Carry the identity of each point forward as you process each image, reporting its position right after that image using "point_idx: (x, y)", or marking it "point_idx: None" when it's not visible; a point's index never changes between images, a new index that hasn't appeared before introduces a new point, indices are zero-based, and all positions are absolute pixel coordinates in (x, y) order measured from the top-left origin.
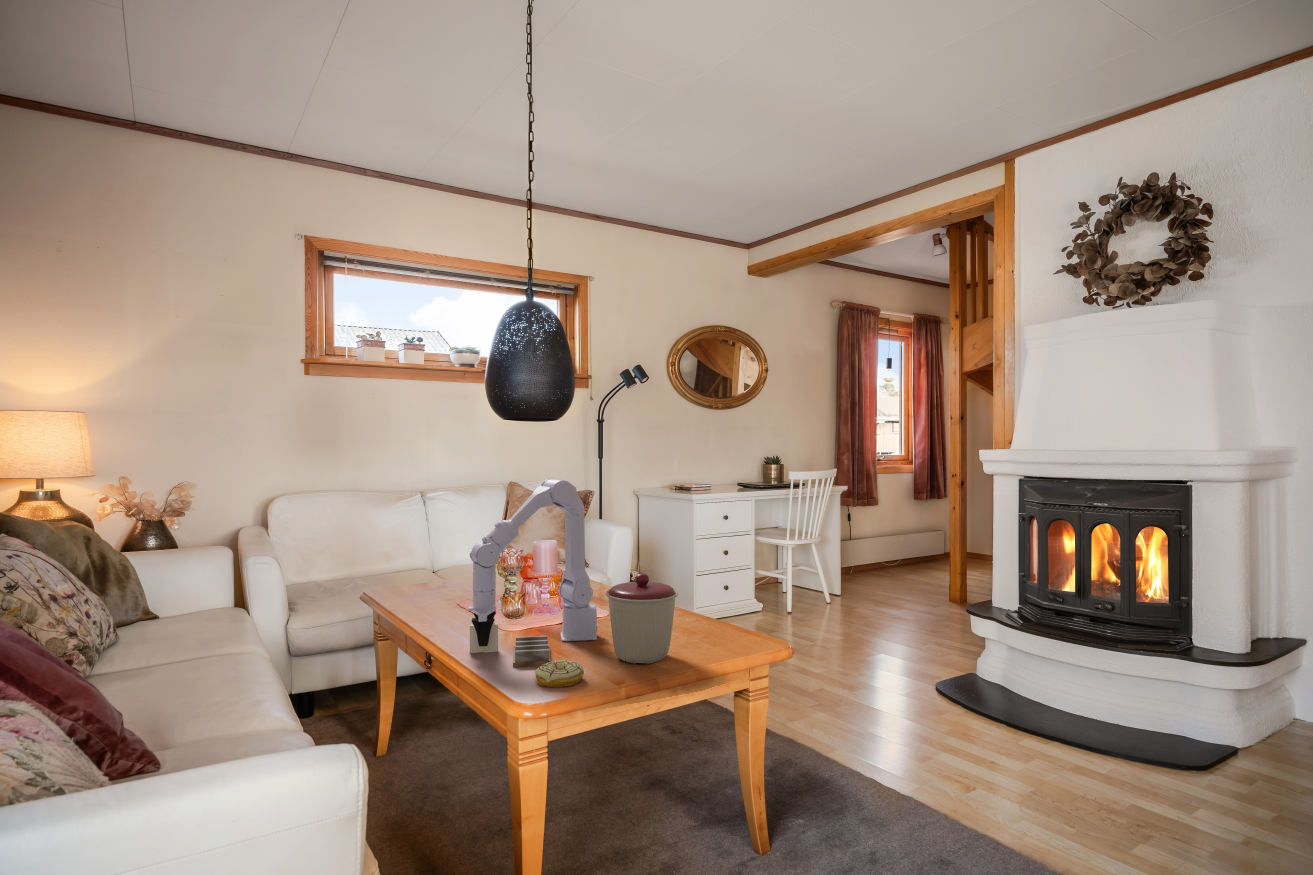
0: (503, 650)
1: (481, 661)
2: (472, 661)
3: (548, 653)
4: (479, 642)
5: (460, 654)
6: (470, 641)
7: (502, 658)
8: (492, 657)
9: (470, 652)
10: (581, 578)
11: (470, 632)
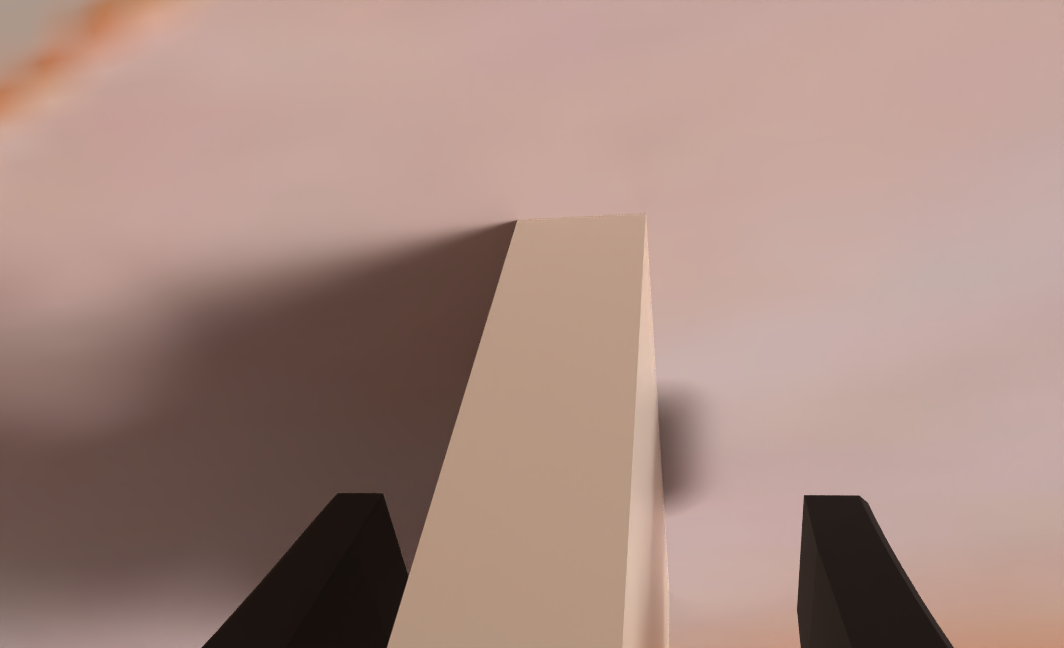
0: None
1: (88, 429)
2: (51, 317)
3: None
4: (301, 557)
5: (414, 51)
6: (480, 373)
7: None
8: (293, 538)
9: (519, 237)
10: None
11: (427, 550)
